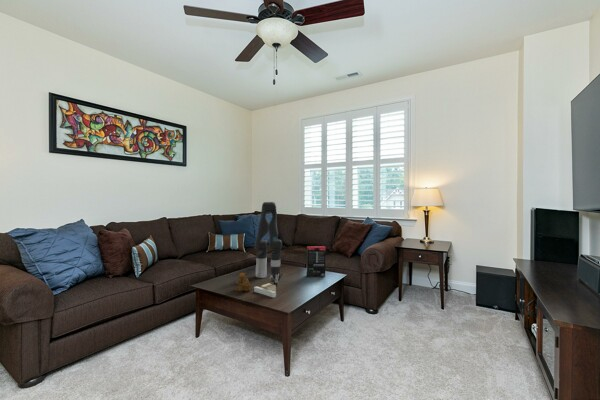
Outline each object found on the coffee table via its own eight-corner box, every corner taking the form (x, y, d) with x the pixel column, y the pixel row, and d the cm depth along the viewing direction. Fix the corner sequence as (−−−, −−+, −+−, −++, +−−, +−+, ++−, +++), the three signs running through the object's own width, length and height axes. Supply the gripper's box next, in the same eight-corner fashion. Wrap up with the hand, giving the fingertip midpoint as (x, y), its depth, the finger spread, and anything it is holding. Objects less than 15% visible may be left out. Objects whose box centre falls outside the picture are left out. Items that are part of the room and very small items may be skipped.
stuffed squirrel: (244, 286, 227) (243, 270, 226) (255, 290, 217) (255, 273, 217) (233, 289, 219) (233, 272, 219) (244, 294, 210) (244, 276, 210)
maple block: (261, 292, 215) (261, 285, 215) (269, 289, 221) (269, 283, 221) (268, 294, 210) (268, 288, 209) (275, 291, 216) (275, 285, 215)
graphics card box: (324, 274, 260) (324, 245, 259) (325, 276, 253) (326, 246, 252) (306, 275, 258) (306, 245, 257) (307, 277, 251) (307, 247, 251)
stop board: (254, 291, 215) (254, 287, 215) (256, 290, 217) (256, 286, 217) (273, 297, 203) (273, 292, 203) (275, 296, 205) (275, 291, 205)
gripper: (277, 262, 226) (277, 283, 226) (266, 266, 215) (266, 288, 216) (284, 264, 221) (284, 285, 222) (273, 267, 211) (273, 290, 211)
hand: (275, 287), depth 219 cm, fingers closed
